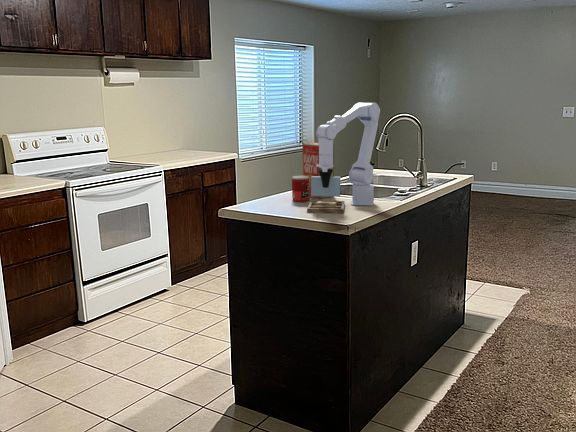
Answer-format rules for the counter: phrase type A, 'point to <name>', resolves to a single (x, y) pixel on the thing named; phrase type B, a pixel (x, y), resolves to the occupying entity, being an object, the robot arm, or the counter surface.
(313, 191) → the panel
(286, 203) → the counter surface
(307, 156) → the food packaging
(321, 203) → the offcut
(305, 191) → the canned food
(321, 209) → the rack
